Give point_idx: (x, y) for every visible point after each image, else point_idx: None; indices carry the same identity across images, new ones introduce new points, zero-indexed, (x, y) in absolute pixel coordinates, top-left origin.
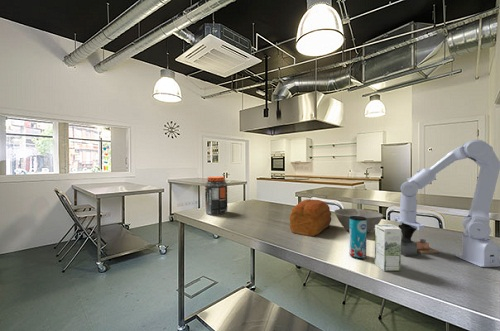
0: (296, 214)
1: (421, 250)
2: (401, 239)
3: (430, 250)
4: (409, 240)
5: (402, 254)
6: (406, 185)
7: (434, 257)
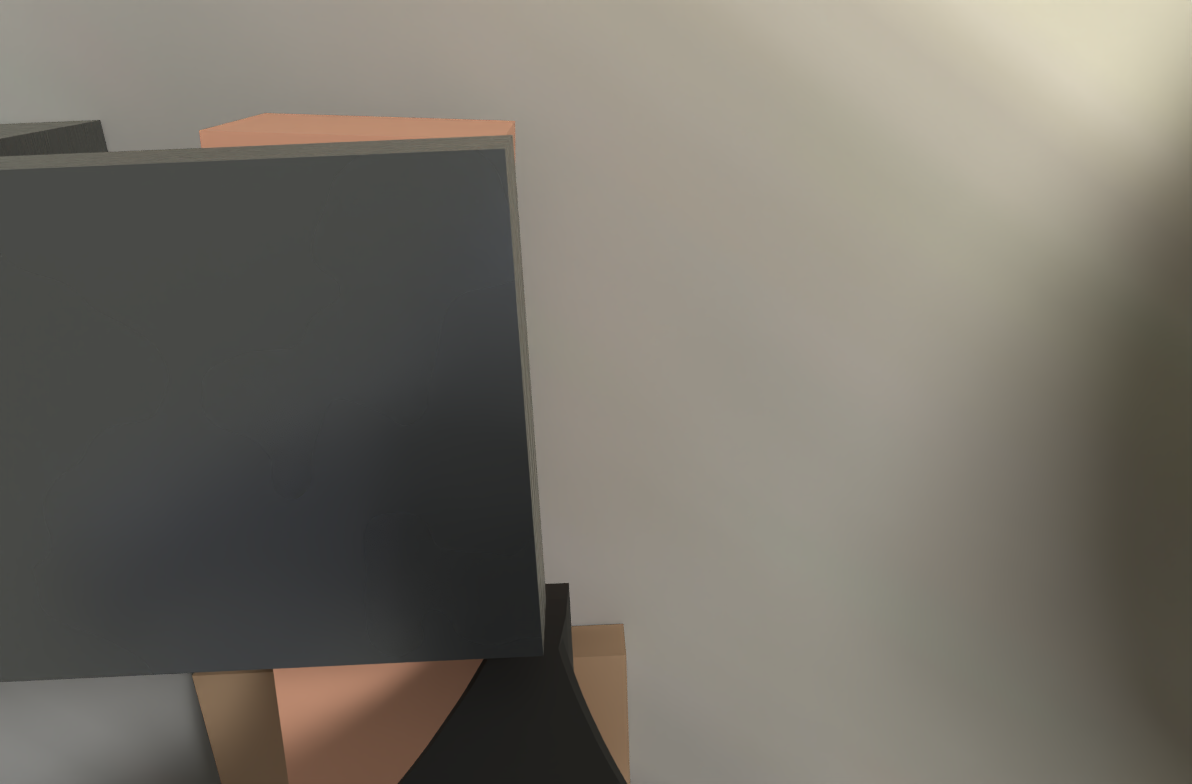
0: None
1: (278, 717)
2: (124, 394)
3: None
4: (42, 618)
5: (19, 124)
6: None
7: (31, 743)
